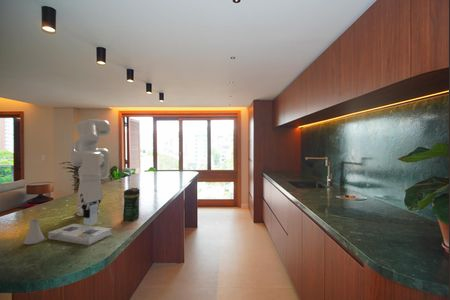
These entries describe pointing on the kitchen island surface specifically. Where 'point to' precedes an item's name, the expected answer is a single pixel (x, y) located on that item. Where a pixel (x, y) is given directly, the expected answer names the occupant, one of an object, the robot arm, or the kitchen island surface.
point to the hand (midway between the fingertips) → (90, 215)
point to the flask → (34, 233)
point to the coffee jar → (131, 204)
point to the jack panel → (80, 234)
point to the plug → (92, 214)
